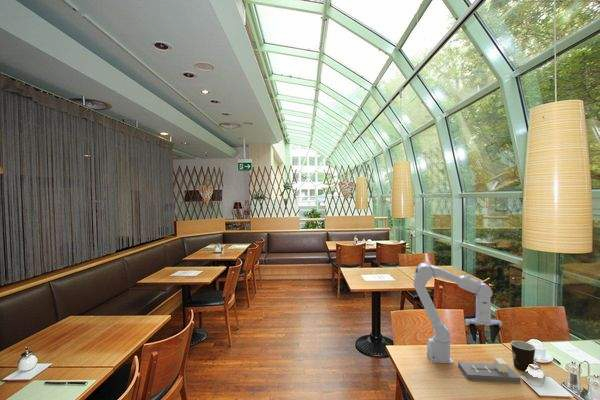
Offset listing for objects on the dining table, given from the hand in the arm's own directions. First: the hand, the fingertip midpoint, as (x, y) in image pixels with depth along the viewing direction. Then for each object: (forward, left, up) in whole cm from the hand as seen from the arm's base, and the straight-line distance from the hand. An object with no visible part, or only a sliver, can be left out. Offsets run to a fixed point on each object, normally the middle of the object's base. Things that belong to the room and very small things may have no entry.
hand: (483, 341), depth 136 cm
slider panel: (-2, -8, -10) cm, 13 cm away
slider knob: (+3, -8, -8) cm, 12 cm away
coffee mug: (+16, 0, -11) cm, 19 cm away
